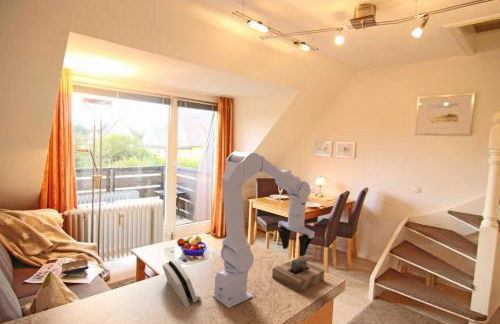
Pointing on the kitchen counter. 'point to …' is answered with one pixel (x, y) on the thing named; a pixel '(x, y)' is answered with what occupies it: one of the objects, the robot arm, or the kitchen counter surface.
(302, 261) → the grey rectangular block
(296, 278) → the slotted wooden block
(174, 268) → the white game console
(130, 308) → the kitchen counter surface
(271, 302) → the kitchen counter surface
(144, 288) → the kitchen counter surface
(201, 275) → the kitchen counter surface
